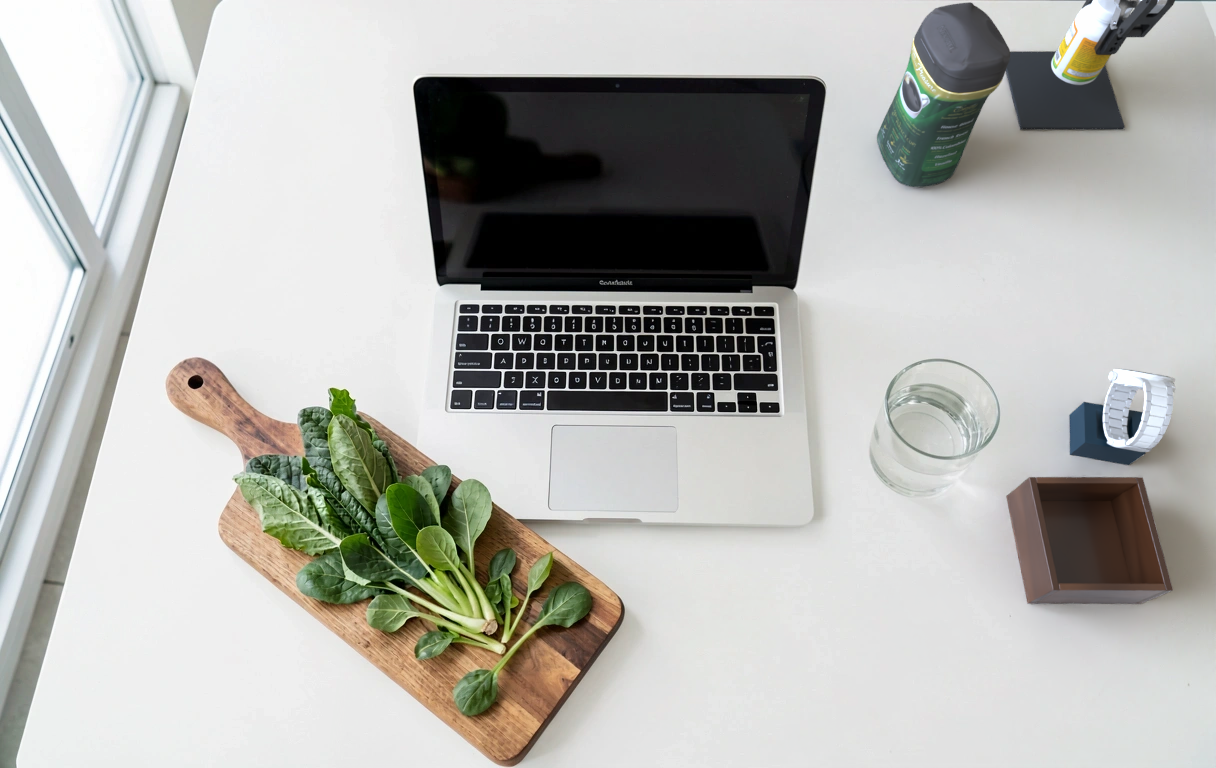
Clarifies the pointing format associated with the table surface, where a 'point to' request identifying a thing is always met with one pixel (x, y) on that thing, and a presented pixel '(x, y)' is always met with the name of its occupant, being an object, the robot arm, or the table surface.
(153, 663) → the table surface
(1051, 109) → the mat
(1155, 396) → the watch
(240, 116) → the table surface
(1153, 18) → the robot arm
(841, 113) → the table surface
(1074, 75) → the supplement bottle
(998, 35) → the coffee jar
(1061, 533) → the wooden box
